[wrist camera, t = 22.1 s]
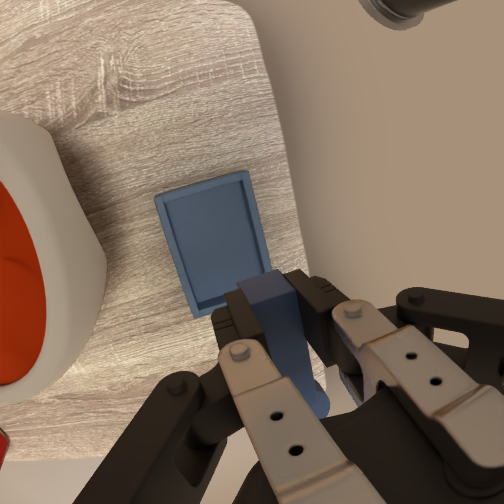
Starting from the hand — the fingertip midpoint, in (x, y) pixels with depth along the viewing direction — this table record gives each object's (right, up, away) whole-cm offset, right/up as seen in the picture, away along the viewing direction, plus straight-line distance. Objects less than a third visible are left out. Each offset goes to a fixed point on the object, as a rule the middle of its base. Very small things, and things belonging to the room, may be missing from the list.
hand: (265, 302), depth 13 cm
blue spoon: (+1, -3, +2) cm, 4 cm away
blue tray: (-4, +3, +22) cm, 23 cm away
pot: (-26, +5, +17) cm, 31 cm away
